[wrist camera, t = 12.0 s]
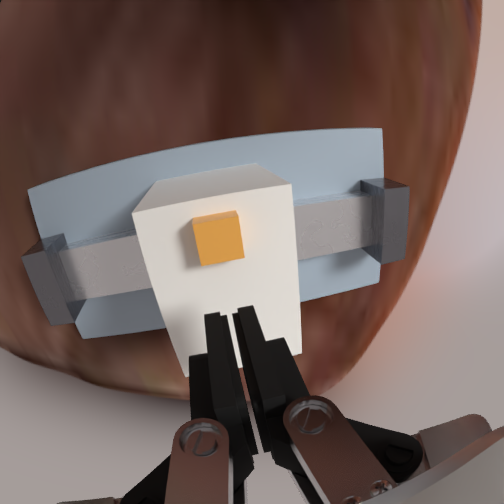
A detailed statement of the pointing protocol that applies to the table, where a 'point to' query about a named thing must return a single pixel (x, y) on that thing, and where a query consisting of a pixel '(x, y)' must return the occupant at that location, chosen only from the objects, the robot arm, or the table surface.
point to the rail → (134, 268)
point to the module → (221, 254)
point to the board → (200, 160)
